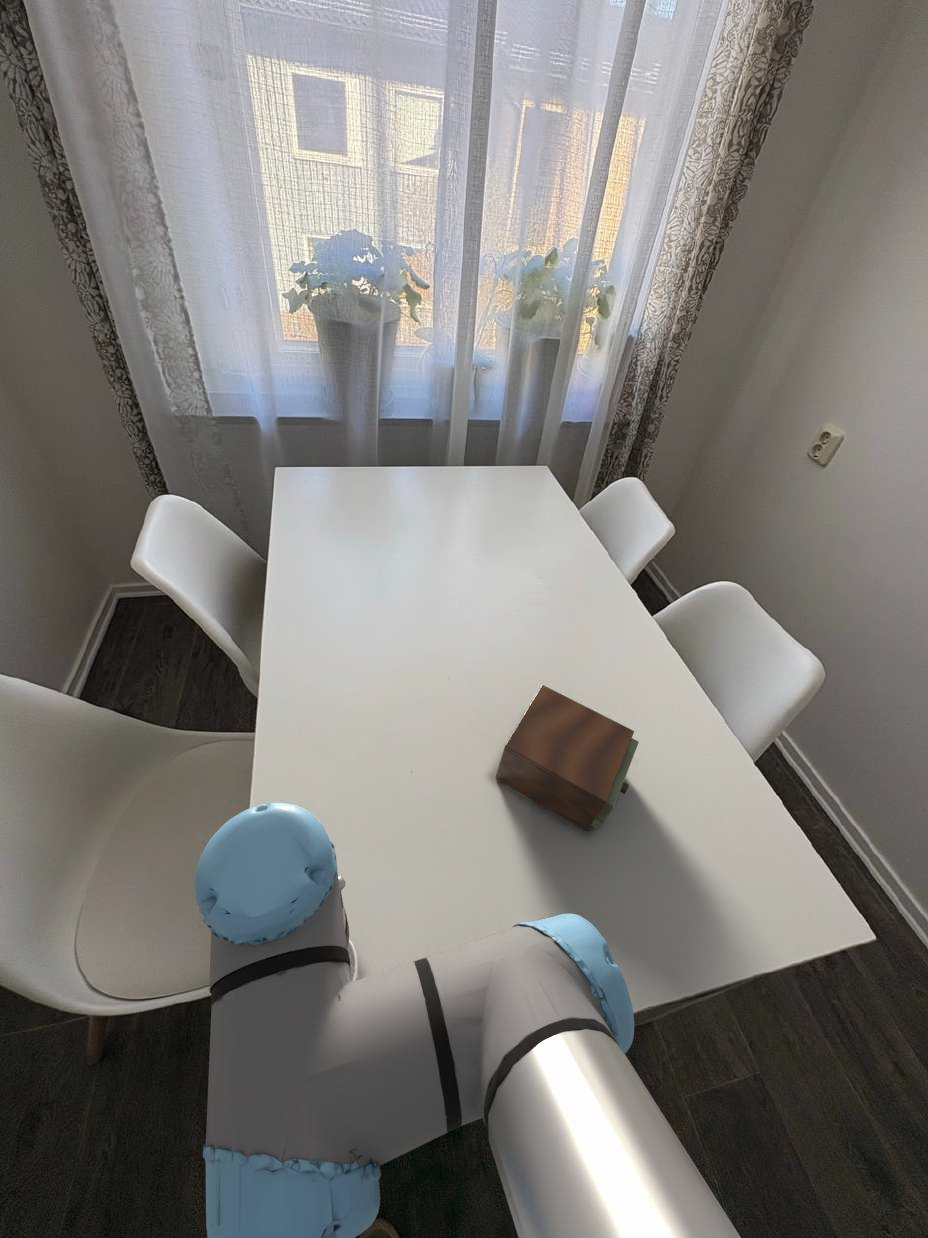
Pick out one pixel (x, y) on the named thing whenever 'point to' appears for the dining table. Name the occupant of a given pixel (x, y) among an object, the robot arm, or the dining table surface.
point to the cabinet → (564, 756)
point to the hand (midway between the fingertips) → (324, 988)
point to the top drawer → (617, 785)
